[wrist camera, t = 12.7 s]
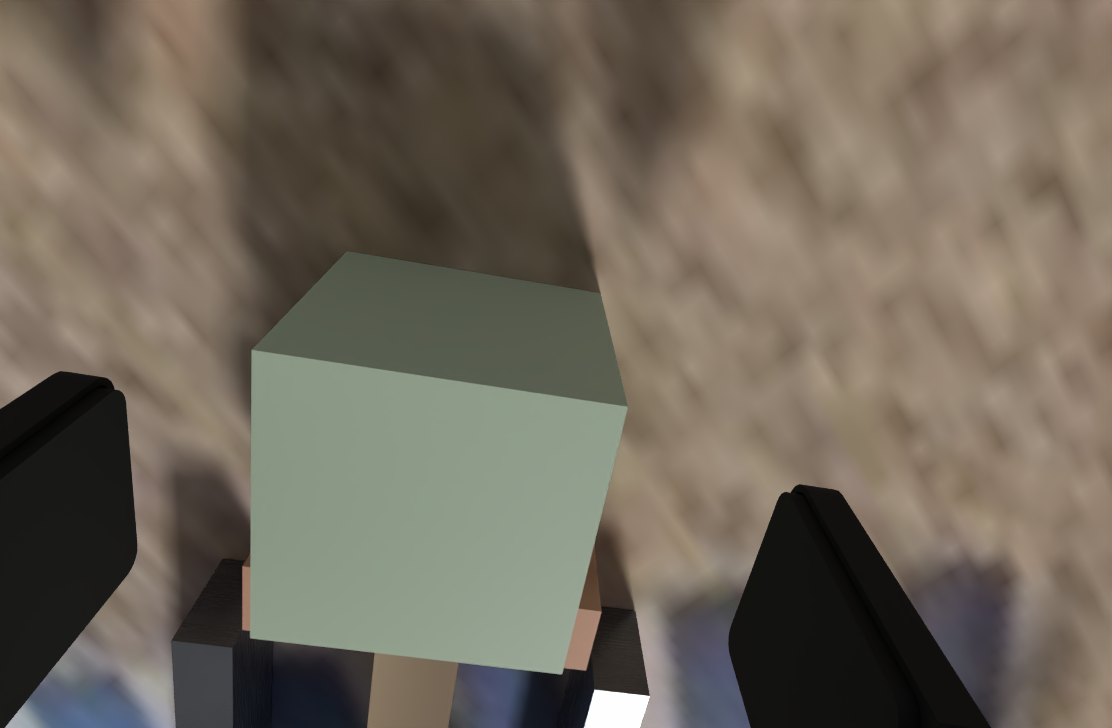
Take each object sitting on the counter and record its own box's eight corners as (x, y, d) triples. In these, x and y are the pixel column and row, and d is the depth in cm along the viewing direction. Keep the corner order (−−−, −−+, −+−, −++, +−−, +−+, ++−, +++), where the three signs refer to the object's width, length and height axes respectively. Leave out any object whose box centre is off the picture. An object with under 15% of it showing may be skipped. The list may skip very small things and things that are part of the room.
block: (334, 467, 16) (250, 638, 11) (347, 250, 14) (251, 350, 9) (556, 497, 16) (562, 674, 12) (600, 291, 14) (627, 406, 10)
